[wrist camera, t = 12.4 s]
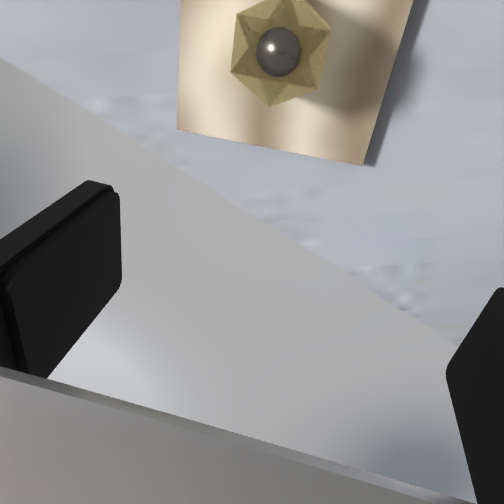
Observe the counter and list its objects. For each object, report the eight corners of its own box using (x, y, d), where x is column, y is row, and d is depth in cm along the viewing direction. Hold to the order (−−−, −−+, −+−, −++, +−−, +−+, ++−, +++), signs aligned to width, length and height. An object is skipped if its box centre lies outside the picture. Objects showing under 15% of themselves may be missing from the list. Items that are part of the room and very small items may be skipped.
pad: (434, -79, 22) (438, -82, 21) (361, 161, 30) (362, 166, 29) (190, -116, 23) (184, -120, 22) (181, 126, 31) (176, 129, 30)
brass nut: (338, -3, 24) (338, -3, 20) (315, 97, 27) (311, 116, 23) (256, -18, 24) (239, -20, 20) (243, 83, 28) (227, 99, 23)
